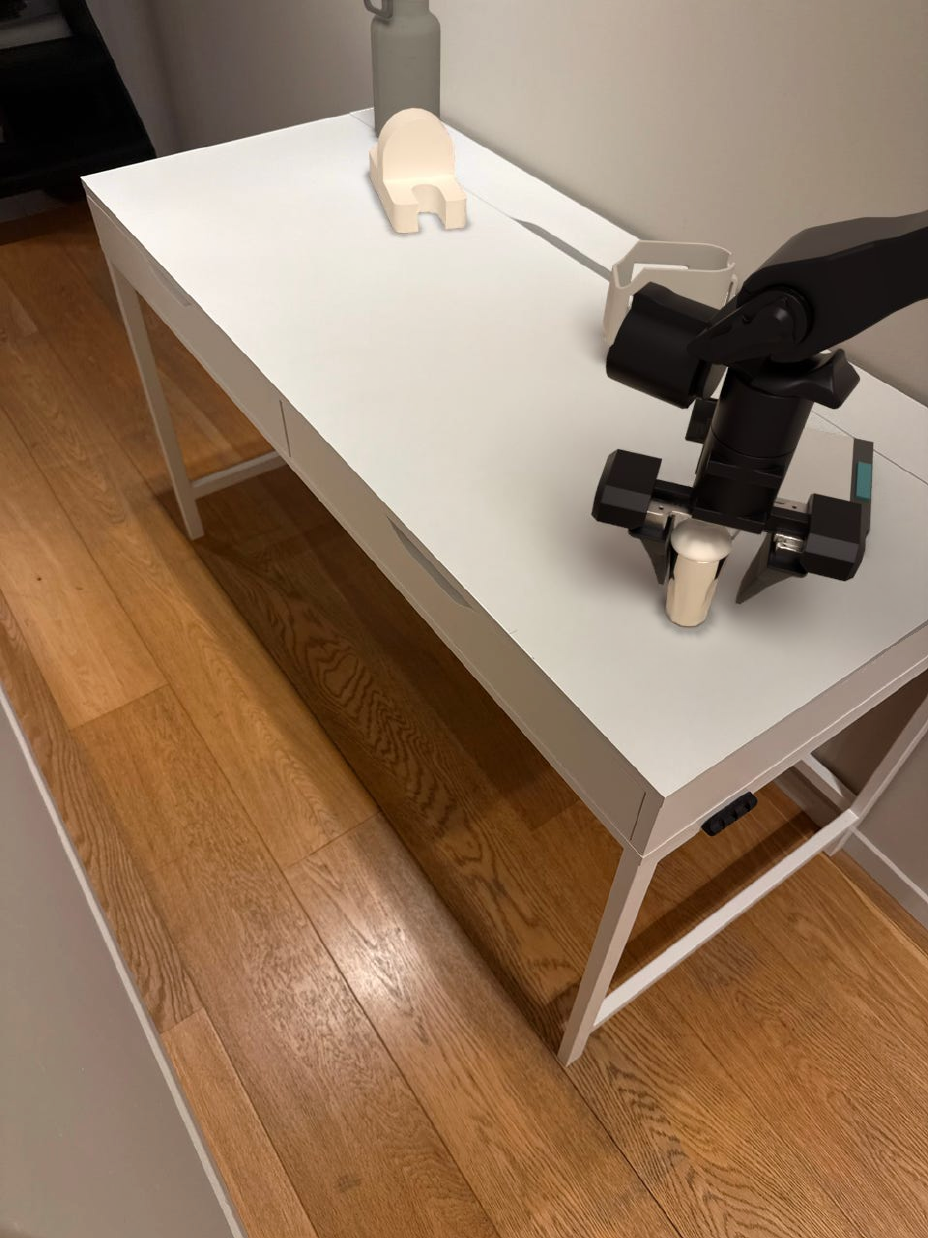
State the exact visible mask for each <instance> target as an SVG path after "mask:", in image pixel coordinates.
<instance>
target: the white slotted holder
mask: <svg viewBox="0 0 928 1238" xmlns="http://www.w3.org/2000/svg"><path fill="white" fill-rule="evenodd" d="M376 145H377V146H373V147H370V148H369V149H368V156H369V157H368V159H369V178H370V181H371V183H372V185H373V188H374V189H375V192H376V193H377V196H378V198H379V201H380V203H381V205H382V208H383V210H384V212H385V214H386V216H387V219H388V221H389V223H390V225H391V227H392V228H391V229H393V231H394V232H395V233H397V234H412V233H419V213H432V214H434V215H436V216H438V217H439V219H440V222H441V224H442V226H443V227H444V229H445V230H454V229H462V228H464V227H465V226H466V225H467V197H468V196H467V194H466V192H465V190H464V189H463V187H462V185H461V183H460V182H459V179H457V177H456V174H455V173H456V172H455V171H456V154H455V146H454V142H453V140H452V137H451V134H449V132H448V130H447V128H446V127H445V126H444V124H443V122H442V121H441V119H440V120H439V119H438V118H437V117H436V116H435V115H433V114H432V113H431V112H429V111H426V110H423V109H417V108H411V109H406V110H402V111H400V112H398V113H397V114H395V115H393V116H392V117H391V118H390V119H389V120H388V121H387V122H386V124H385V125H384V127H383V128H382V130H381V132H380V135H379V136H378V138H377V144H376Z"/></svg>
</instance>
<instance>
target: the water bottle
mask: <svg viewBox="0 0 928 1238" xmlns="http://www.w3.org/2000/svg"><path fill="white" fill-rule="evenodd" d="M380 2H381V3H380V4H381V8H377V7H376V6H374V5H373V4H372V2H371V0H363V5H364V8H365V9H366V11H368V12H369V13H372V14H373V15H374V16H373V18H372V20H371V23H370V44H371V46H370V47H371V68H372V88H373V89H372V90H373V93H372V94H373V114H374V115H373V116H374V118H373V119H374V130H375V133H376V135H377V137H379V135H380V132H381V130H382V128H383V127H384V125H385V124H386V122H387V121H388V120H389V119H390V118H391V117H392V116H393V115H395V114H397V113H398V112H400V111H402V110H406V109H411V108H417V109H423V110H426V111H429V112H431V113H432V114H433V115H435V116H436V117H437V118H438V119H439V120H440V121H441V35H442V34H441V32H442V31H441V23H440V21H439V19H438V17H437V16H436V15H435V14H434V13H433V12H432V11H431V10H430V0H380Z"/></svg>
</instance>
